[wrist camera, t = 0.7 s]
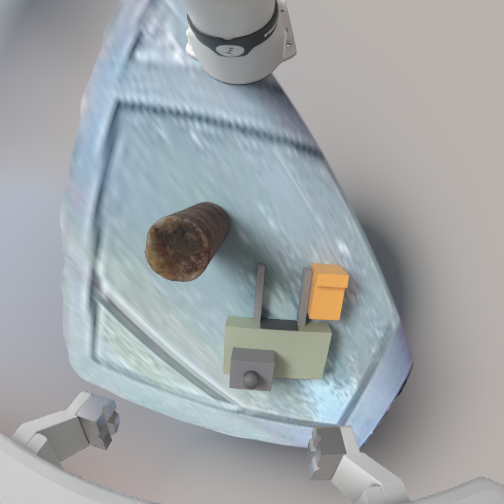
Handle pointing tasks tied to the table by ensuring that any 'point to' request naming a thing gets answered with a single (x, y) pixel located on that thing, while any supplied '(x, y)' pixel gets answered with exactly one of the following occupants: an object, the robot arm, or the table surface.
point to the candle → (186, 241)
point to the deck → (275, 344)
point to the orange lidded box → (326, 291)
